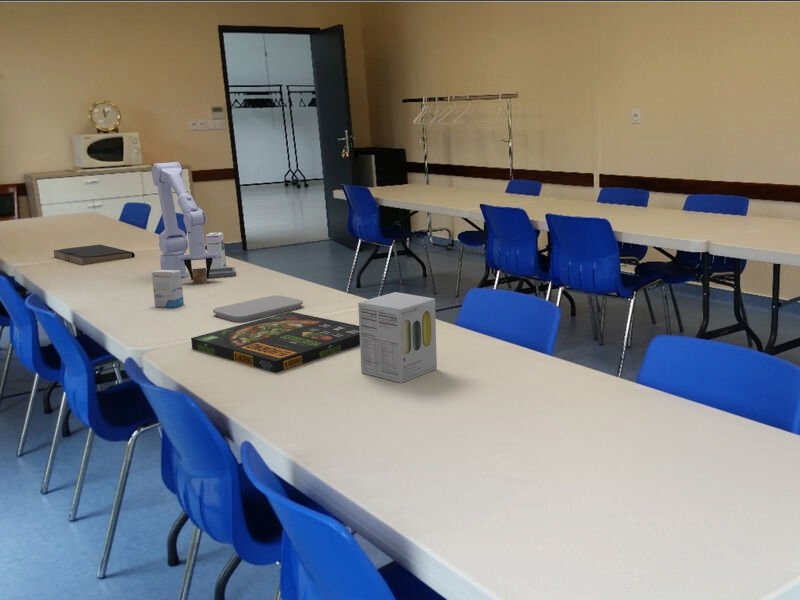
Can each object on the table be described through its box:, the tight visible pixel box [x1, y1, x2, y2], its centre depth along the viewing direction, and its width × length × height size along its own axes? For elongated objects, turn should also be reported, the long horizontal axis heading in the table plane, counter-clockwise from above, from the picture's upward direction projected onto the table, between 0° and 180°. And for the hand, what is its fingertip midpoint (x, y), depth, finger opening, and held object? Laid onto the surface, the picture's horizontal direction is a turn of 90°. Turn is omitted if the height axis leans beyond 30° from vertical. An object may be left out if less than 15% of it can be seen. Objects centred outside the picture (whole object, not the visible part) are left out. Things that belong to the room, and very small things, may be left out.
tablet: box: [212, 295, 304, 323], centre depth 258 cm, size 16×26×2 cm, turn 135°
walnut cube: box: [192, 267, 208, 285], centre depth 304 cm, size 5×5×5 cm
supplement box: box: [357, 291, 438, 384], centre depth 192 cm, size 13×13×18 cm
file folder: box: [53, 244, 136, 266], centre depth 369 cm, size 33×4×24 cm
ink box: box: [151, 269, 185, 308], centre depth 268 cm, size 9×5×12 cm, turn 71°
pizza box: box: [190, 311, 360, 374], centre depth 220 cm, size 35×35×4 cm
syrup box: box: [205, 231, 227, 269], centre depth 331 cm, size 6×6×14 cm
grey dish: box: [206, 266, 237, 279], centre depth 318 cm, size 11×11×2 cm
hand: (200, 278), depth 305 cm, fingers closed on walnut cube, 5 cm apart
